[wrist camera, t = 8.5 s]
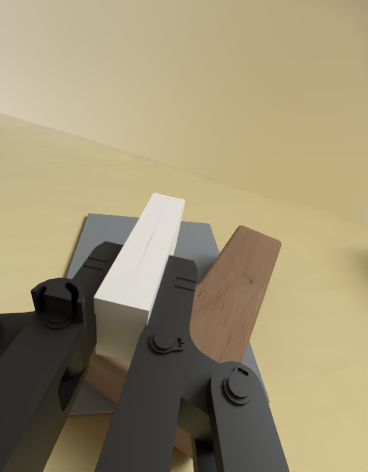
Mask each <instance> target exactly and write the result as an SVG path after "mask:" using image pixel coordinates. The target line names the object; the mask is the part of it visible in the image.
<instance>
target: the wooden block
mask: <svg viewBox="0 0 368 472" xmlns="http://www.w3.org/2000/svg"><path fill="white" fill-rule="evenodd" d="M280 248H281V242H280V241H279V240H277V239H274V238H272V237H269V236H267V235H264V234H262V233H260V232H257V231H255V230H252V229H250V228H247V227H245V226H239V227H238V228H237V229H236V231H235V232H234V234H233V235H232V237H231V238H230V240H229V241H228V242H227V244H226V245H225V247H224V248H223V250H222V251H221V253H220V254H219V256H218V257H217V259H216V260H215V261H214V263H213V264H212V266H211V267H210V269H209V270H208V272H207V273H206V275H205V276H204V278H203V279H202V280H201V282H200V283H199V284H198V285H196V288H195V295H194V301H193V308H192V314H191V321H190V335H191V339H192V341H193V343H194V344H195V346H196V347H197V348H198V349H199V350H200V351H201V352H202V353H204V354H205V355H206V356H208V357H210V358H211V359H213V360H215V361H216V362H218V363H220V364H221V363H223V362H228V361H235V362H239V363H242V360H243V357H244V354H245V351H246V348H247V345H248V342H249V339H250V336H251V334H252V331H253V328H254V325H255V322H256V319H257V316H258V313H259V310H260V307H261V304H262V301H263V298H264V295H265V292H266V289H267V286H268V283H269V280H270V277H271V275H272V272H273V269H274V266H275V263H276V260H277V257H278V254H279V251H280ZM89 363H90V365H89V369H88V373H87V375H86V377H85V379H84V382H86V383H87V384H88V385H90V386H91V387H93V388H94V389H95V390H97V391H98V392H100V393H101V394H102V395H104V396H105V397H107V398H108V399H109V400H111V401H112V402H113V403H115V404H116V405H117V403H118V400H119V397H120V394H121V391H122V388H123V385H124V382H125V379H126V376H127V373H128V370H129V367H130V364H131V362H128V361H124V360H120V359H116V358H112V357H108V356H104V355H99V354H96V346H95V348H94V350H93V352H92V354H91V357H90V359H89ZM174 447H176V448H177V449H179V450H180V451H181V452H183V453H184V454H186V455H187V456H188V457H190V458H191V459H193V456H192V445H191V434H189V433H188V432H186V431H185V430H184V429H182V428H181V427H180V426H178V425H177V426H176V433H175V440H174Z"/></svg>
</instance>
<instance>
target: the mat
mask: <svg viewBox="0 0 368 472" xmlns="http://www.w3.org/2000/svg"><path fill="white" fill-rule="evenodd" d="M138 220H139V218H137V217H125V216H113V215H102V214H90V213H89V214H88V216H87V219H86V222H85V225H84V228H83V231H82V234H81V236H80V239H79V242H78V245H77V248H76V251H75V254H74V256H73V259H72V262H71V265H70V268H69V271H68V274H67V277H66V278H70V279H72V278H73V277H74V276H75V274H76V273H77V271H78V270H79V269H80V267H82V264H83V263H84V262H85V260H86V259H88V256H89V255H90V253H91V252H92V251H93V249H94V248H95V247H97V246H98V245H100V244H101V243H103V242H105V241H108V242H112V243H116V244H121V245H124V244H125V242H126V241H127V239H128V237H129V235H130V234H131V232H132V230H133V229H134V227H135V225H136V223H137V222H138ZM173 256H176V257H180V258H184V259H189V260H193V261H194V262H195V264H196V267H197V269H198V275H197V281H196V285H198V284H199V283H200V282H201V280H202V279H203V278H204V276H205V275H206V273H207V272H208V270H209V269H210V267H211V266H212V264H213V263H214V261H215V260H216V259H217V257H218V256H219V251H218V248H217V245H216V242H215V239H214V236H213V233H212V230H211V227H210V224H206V223H195V222H183V221H181V223H180V228H179V233H178V238H177V243H176V247H175V251H174V254H173ZM242 364H244V365H245V366H247V367H249V368H250V369H251V370H252V371H253V372H254V373H255V374H256V375H257V376H258V378H259V380H260V382H261V384H262V386H263V388H264V391H265V395H266V398H267V401H268V403H269V402H270V401H269V398H268V395H267V393H266V390H265V387H264V384H263V381H262V378H261V375H260V372H259V369H258V366H257V363H256V360H255V357H254V354H253V351H252V348H251V345H250V342H248V345H247V348H246V351H245V354H244V357H243V360H242ZM116 406H117V405H116V404H115V403H113V402H112V401H111V400H109V399H108V398H107V397H105V396H104V395H102V394H101V393H100V392H98V391H97V390H95V389H94V388H93V387H91V386H90V385H88V384H87V383H86V382H83V384H82V386H81V388H80V391H79V393H78V395H77V397H76V399H75V402H74V404H73V406H72V408H71V410H70V413H69V415H87V414H105V413H114V412H115V409H116ZM69 415H68V416H69Z"/></svg>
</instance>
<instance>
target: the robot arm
mask: <svg viewBox="0 0 368 472" xmlns="http://www.w3.org/2000/svg"><path fill="white" fill-rule="evenodd" d="M184 203H185V200H183V199H179V198H174V197H170V196H166V195H161V194H157V193H154V194H153V196H152V197H151V199H150V201H149V202H148V204H147V206H146V208H145V209H144V211H143V213H142V215H141V216H140V218H139V220H138V222H137V223H136V225H135V227H134V229H133V230H132V232H131V234H130V235H129V237H128V239H127V241H126V242H125V244H124V245H121V244H116V243H112V242H108V241H105V242H103V243H101V244H100V245H98V246H97V247H95V248H94V249H93V251H92V252H91V253H90V255H89V256H88V259H86V260H85V262H84V263H83V264H82V267H80V269H79V270H78V271H77V273H76V274H75V276H74V277H73V278H72V279H70V278H55V279H49V280H47V281H44V282H42V283H40V284H38V285H37V286H36V287H35V288H33V289H32V290H31V295H32V299H33V303H34V307H35V311H33V312H25V313H6V314H0V472H43V470H44V468H45V465H46V463H47V461H48V459H49V457H50V454H51V452H52V450H53V448H54V446H55V443H56V441H57V439H58V437H59V435H60V432H61V430H62V428H63V426H64V424H65V421H66V419H67V417H68V415H69V413H70V410H71V408H72V406H73V404H74V402H75V399H76V397H77V395H78V393H79V391H80V388H81V386H82V384H83V382H84V379H85V377H86V375H87V373H88V369H89V365H90V363H89V359H90V357H91V354H92V352H93V350H94V348H95V346H96V354H99V355H104V356H108V357H112V358H116V359H120V360H124V361H128V362H131V364H130V367H129V370H128V373H127V376H126V379H125V382H124V385H123V388H122V391H121V394H120V397H119V400H118V403H117V406H116V409H115V412H114V415H113V418H112V421H111V424H110V427H109V430H108V433H107V436H106V439H105V442H104V445H103V448H102V451H101V454H100V457H99V460H98V463H97V466H96V469H95V472H170V467H171V460H172V453H173V446H174V440H175V433H176V426H177V425H178V426H180V427H181V428H182V429H184V430H185V431H186V432H188V433H189V434H191V445H192V456H193V467H194V472H290V471H289V468H288V465H287V462H286V459H285V455H284V452H283V449H282V446H281V443H280V439H279V436H278V433H277V430H276V427H275V423H274V420H273V417H272V414H271V411H270V407H269V404H268V401H267V398H266V395H265V391H264V388H263V386H262V384H261V382H260V380H259V378H258V376H257V375H256V374H255V373H254V372H253V371H252V370H251V369H250V368H249V367H247V366H245V365H244V364H242V363H239V362H235V361H228V362H223V363H221V364H220V363H218V362H216V361H215V360H213V359H211V358H210V357H208V356H206V355H205V354H204V353H202V352H201V351H200V350H199V349H198V348H197V347H196V346H195V344H194V343H193V341H192V339H191V335H190V321H191V314H192V308H193V301H194V295H195V288H196V281H197V275H198V269H197V267H196V264H195V262H194V261H193V260H189V259H184V258H180V257H176V256H173V254H174V251H175V247H176V243H177V238H178V233H179V228H180V223H181V218H182V213H183V208H184Z"/></svg>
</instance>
